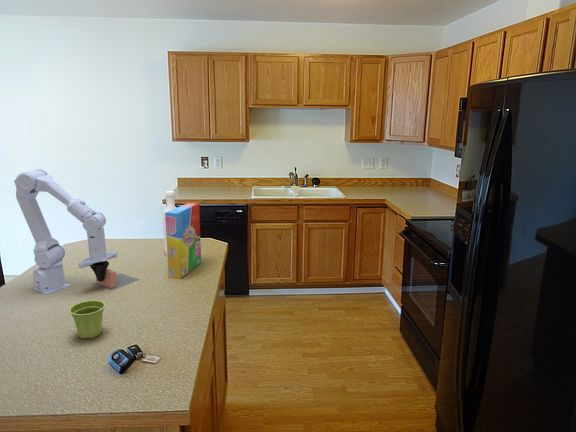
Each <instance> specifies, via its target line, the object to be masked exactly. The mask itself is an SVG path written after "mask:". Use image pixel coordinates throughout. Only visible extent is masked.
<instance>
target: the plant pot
mask: <svg viewBox="0 0 576 432" xmlns="http://www.w3.org/2000/svg"><path fill="white" fill-rule="evenodd" d="M105 308H106V303H105V302H104V301H101V300H97V299H96V300H95V299H92V300H84V301H80V302H78V303H75V304H74V305H72V306H71V307H70V308H69V309H68V311H69V313H70V314H71V317H72V318H73V320H74V324H75V328H76V331H77V334H78V335H77V336H78V337H79V338H81V339H92V338H96V337H97V336H99V335H100V334H101V333H102V330H103V329H102V328H103V326H102V325H103V314H104V313H103V312H104V309H105Z"/></svg>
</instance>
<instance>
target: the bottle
mask: <svg viewBox="0 0 576 432" xmlns="http://www.w3.org/2000/svg"><path fill="white" fill-rule="evenodd" d="M175 195H176V194H175V191H174V190H166V191H165V197H166V198H165V199H166V201H165V202H166V206H165V208H164V209H163V211H162V224H163V242H164V254H165V256H167V257H168V255H167V236H166V220H165V212H168V211H170V210H173V209H175V208H178V206H176V204H175V203H176V201H175Z"/></svg>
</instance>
